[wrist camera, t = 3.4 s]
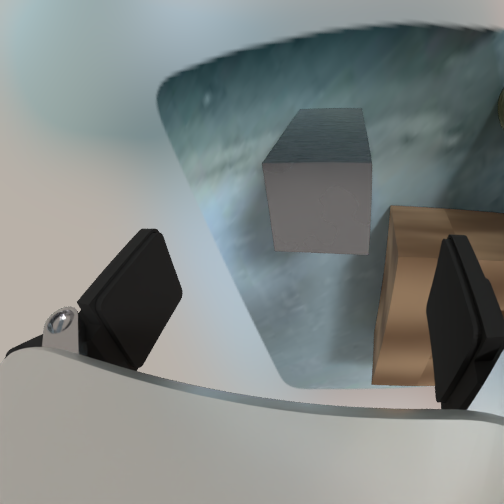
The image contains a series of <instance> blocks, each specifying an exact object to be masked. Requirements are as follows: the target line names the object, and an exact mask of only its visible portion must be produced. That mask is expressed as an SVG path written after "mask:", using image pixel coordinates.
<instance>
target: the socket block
mask: <svg viewBox="0 0 504 504" xmlns="http://www.w3.org/2000/svg"><path fill="white" fill-rule="evenodd" d="M450 234H454V235H466V236H467V238H468V240H469V242H470V244H471V246H472V248H473V250H474V253H475V255H476V257H477V259H478V262H479V264H480V266H481V269H482V271H483V273H484V276H485V278H487V279H489V281H490V283H491V285H492V288H493V290H494V293H495V296H496V298H497V301H498V304H499V306H500V309H501V312H502V315H503V318H504V213H495V212H484V211H471V210H458V209H444V208H427V207H409V206H390V217H389V229H388V240H387V249H386V258H385V267H384V274H383V282H382V289H381V295H380V302H379V308H378V314H377V320H376V325H375V331H374V350H373V369H372V384H371V385H398V386H435V380H434V369H433V359H432V351H431V343H430V335H429V328H428V321H427V315H426V306H427V301H428V298H429V294H430V290H431V286H432V282H433V278H434V274H435V270H436V266H437V261H438V257H439V252H440V247H441V243H442V240H443V239H447V237H448V235H450Z"/></svg>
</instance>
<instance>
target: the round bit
mask: <svg viewBox="0 0 504 504" xmlns="http://www.w3.org/2000/svg"><path fill="white" fill-rule="evenodd" d="M498 116H499V121H500V124H501V126H502V128H503V130H504V89H503V90H502V92H501V94H500V97H499V101H498Z"/></svg>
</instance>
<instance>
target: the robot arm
mask: <svg viewBox="0 0 504 504" xmlns="http://www.w3.org/2000/svg"><path fill="white" fill-rule="evenodd" d="M181 298H182V288H181V285H180V282H179V280H178V277H177V274H176V271H175V269H174V266H173V263H172V261H171V258H170V255H169V252H168V249H167V246H166V243H165V240H164V237H163V235H162V234H161V233H159V231H158V230H157V229H141V230H140V231H139V232H138V233H137V234H136V235H135V236H134V237H133V238H132V239H131V240H130V241H129V242H128V244H127V245H126V246H125V247H124V248H123V249H122V250H121V251H120V252H119V253H118V255H117V256H116V257H115V258H114V259H113V260H112V261H111V263H110V264H109V265H108V266H107V267H106V268H105V269H104V270H103V272H102V273H101V274H100V275H99V276H98V278H97V279H96V280H95V281H94V282H93V283H92V285H91V286H90V287H89V288H88V289H87V290H86V292H85V293H84V294H83V295H82V297H81V298H80V299H79V300H78V301H77V303H78V305H79V307H80V308H81V311H80V312H79V313H78V311H77V310H76V309H75V308H73V307H64V308H61V309H59V310H57V311H56V312H54V313H53V314H52V315H51V316H50V317H49V318H48V319H47V321H46V323H45V326H44V331H43V334H42V335H40V336H38V337H35V338H33V339H31V340H29V341H27V342H25V343H22V344H21V345H18V346H16V347H14V348H12V349H10V350H9V351H8V352H7V354H6V357H5V359H4V360H3V362H2V363H1V364H0V504H504V318H503V315H502V312H501V309H500V306H499V304H498V301H497V298H496V296H495V293H494V290H493V288H492V285H491V283H490V281H489V279H487V278H485V276H484V273H483V271H482V269H481V266H480V264H479V262H478V259H477V257H476V255H475V253H474V250H473V248H472V246H471V244H470V242H469V240H468V238H467V236H466V235H454V234H450V235H448V237H447V239H443V240H442V243H441V247H440V252H439V257H438V261H437V266H436V270H435V274H434V278H433V282H432V286H431V290H430V294H429V298H428V301H427V306H426V315H427V321H428V328H429V335H430V343H431V351H432V359H433V369H434V380H435V393H436V401H437V402H441V409H387V408H364V407H346V406H332V405H320V404H310V403H300V402H292V401H291V402H290V401H283V400H276V399H268V398H262V397H255V396H248V395H242V394H236V393H231V392H226V391H220V390H215V389H210V388H205V387H200V386H195V385H191V384H186V383H182V382H177V381H173V380H169V379H164V378H161V377H156V376H153V375H149V374H145V373H141V372H137V369H138V368H139V367H141V366H142V365H143V364H144V362H145V360H146V358H147V357H148V355H149V353H150V352H151V350H152V348H153V346H154V344H155V343H156V341H157V339H158V337H159V336H160V334H161V332H162V330H163V329H164V327H165V326H166V324H167V322H168V320H169V319H170V317H171V315H172V314H173V312H174V310H175V308H176V307H177V305H178V303H179V302H180V300H181Z"/></svg>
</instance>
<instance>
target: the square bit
mask: <svg viewBox="0 0 504 504" xmlns="http://www.w3.org/2000/svg"><path fill="white" fill-rule="evenodd" d="M262 166H263V173H264V179H265V186H266V193H267V199H268V206H269V213H270V220H271V227H272V234H273V241H274V248H275V251H287V252H311V253H334V254H357V255H368V254H369V240H370V222H371V194H372V161H371V155H370V149H369V143H368V138H367V132H366V127H365V122H364V117H363V112H362V108H326V109H300V110H299V112H298V113H297V114H296V116H295V117H294V119H293V120H292V121H291V123H290V124H289V126H288V127H287V129H286V130H285V131H284V133H283V134H282V136H281V137H280V138H279V140H278V141H277V143H276V144H275V146H274V147H273V149H272V150H271V151H270V153H269V154H268V156H267V157H266V159H265V160H264V162H263V163H262Z"/></svg>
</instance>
